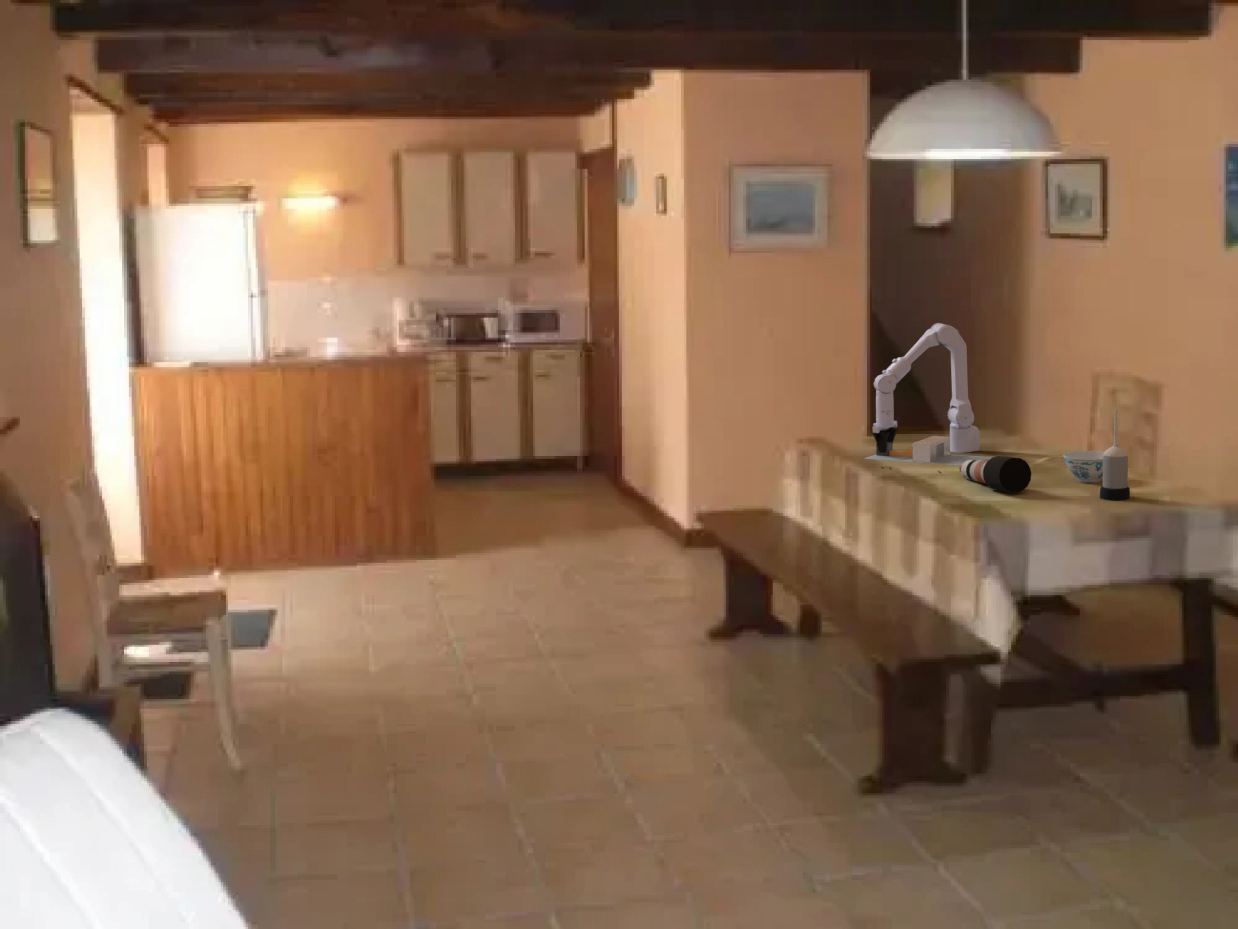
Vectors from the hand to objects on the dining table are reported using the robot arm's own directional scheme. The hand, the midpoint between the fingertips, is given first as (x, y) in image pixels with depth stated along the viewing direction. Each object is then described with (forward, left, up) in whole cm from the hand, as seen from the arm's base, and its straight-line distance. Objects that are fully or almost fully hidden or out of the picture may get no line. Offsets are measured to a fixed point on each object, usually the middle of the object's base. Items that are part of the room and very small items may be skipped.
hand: (885, 451), depth 517 cm
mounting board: (-8, +14, -2) cm, 16 cm away
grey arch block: (-8, +14, -2) cm, 17 cm away
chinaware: (-24, +70, -2) cm, 75 cm away
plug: (-2, +4, -1) cm, 4 cm away
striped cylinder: (+4, +59, -2) cm, 59 cm away
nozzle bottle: (-12, +94, -2) cm, 95 cm away
